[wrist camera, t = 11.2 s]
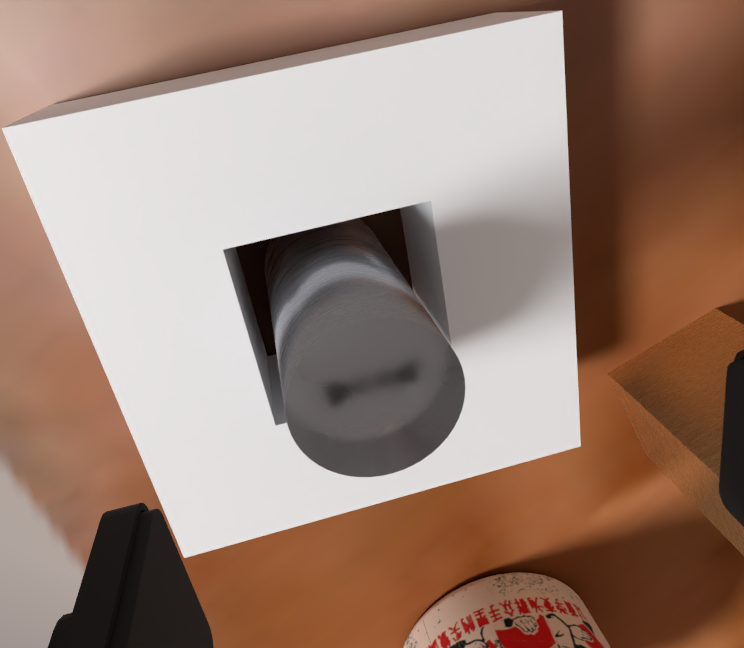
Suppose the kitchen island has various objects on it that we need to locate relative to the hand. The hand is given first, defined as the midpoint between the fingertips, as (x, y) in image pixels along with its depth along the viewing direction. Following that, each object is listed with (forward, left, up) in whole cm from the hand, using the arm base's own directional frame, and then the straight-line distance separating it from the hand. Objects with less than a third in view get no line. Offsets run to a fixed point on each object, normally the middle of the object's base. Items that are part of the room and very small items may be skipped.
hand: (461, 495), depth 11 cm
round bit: (+1, 0, -11) cm, 11 cm away
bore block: (+1, 0, -11) cm, 11 cm away
